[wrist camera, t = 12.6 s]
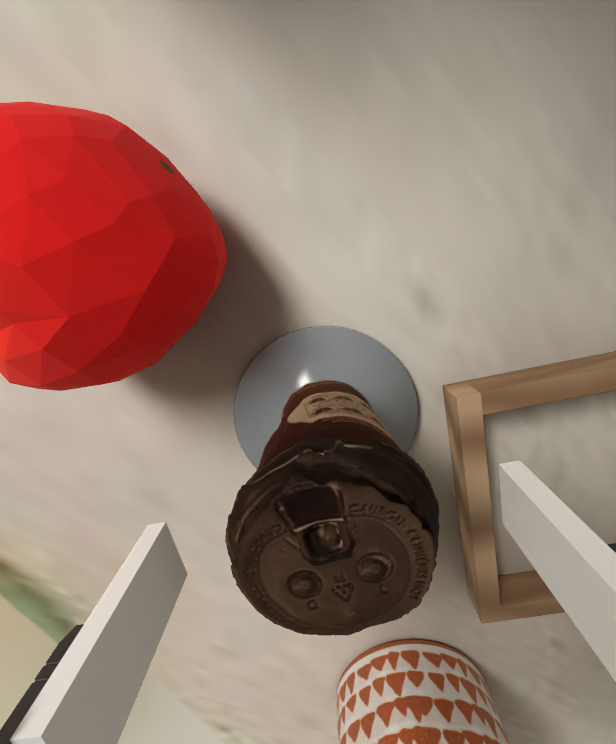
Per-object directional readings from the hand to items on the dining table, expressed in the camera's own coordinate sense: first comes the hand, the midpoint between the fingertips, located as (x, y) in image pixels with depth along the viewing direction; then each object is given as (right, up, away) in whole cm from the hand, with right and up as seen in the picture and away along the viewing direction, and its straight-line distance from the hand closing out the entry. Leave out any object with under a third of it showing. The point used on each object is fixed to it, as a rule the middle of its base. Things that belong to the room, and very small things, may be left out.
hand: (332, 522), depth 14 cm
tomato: (-12, +13, +9) cm, 20 cm away
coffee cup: (0, +3, +11) cm, 11 cm away
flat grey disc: (0, +3, +12) cm, 12 cm away
